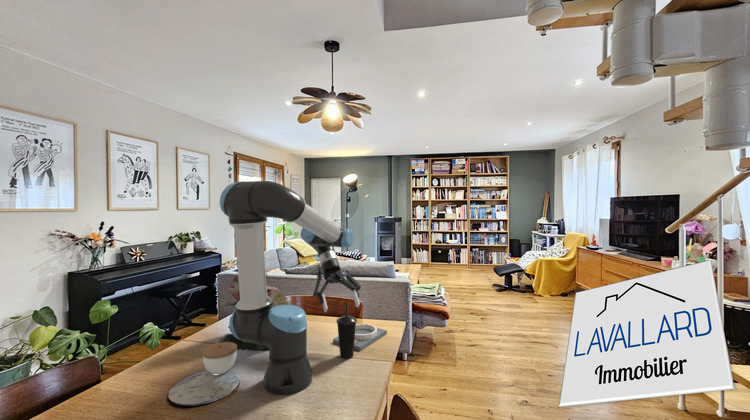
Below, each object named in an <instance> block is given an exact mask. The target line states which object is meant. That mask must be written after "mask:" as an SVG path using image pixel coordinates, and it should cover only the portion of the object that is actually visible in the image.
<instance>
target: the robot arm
mask: <svg viewBox="0 0 750 420" xmlns="http://www.w3.org/2000/svg"><path fill="white" fill-rule="evenodd" d="M219 197H220V198H219V207H220V209H221V212H222V213H223V214H224V215H225V216H227V217H228V223H229V225H230V226H231V227H232V228H233V229H234V237H235V249H236V261H237V273H238V274H237V277H239V290H240V300H239V302H238V303H237V304H236V305H235V308H234V309H233V311H232V312H231V316H230V317H229V322H228V323H229V324H228V326H230V329H229V332H230V331H231V332H230V334H232V335H233V336H234V337H235V338H237V339H239V340H241V341H244V342H248V343H254V344H258V345H263V346H267V347H269V348H268V349H269V350H268V353H269V354H268V355H269V357H268V358H269V359H268V363H267V368H266V372H265V373H264V376H263V388H264V390H265V391H267V393H270V394H274V395H291V394H294V393H298V392H300V391H303V390H305V389H306V388H308V387H309V385H310V384H311V383H312V381H313V370H312V367H311V364H310V361H309V358H308V355H307V351H308V350H307V348H308V347H307V344H308V343H307V340H308V339H307V338H308V337H307V332H308V331H307V328H308V323H307V321H308V320H307V314H306V311H305V310H304V308H301V307H300V306H297V305H293V304H291V305H278V306H275V307H273V304H272V299H271V298H270V297H269V296H268V295H267V286H268V285H267V284H268V283H267V284H266V281H267V278H266V273H267V271H266V258H265V257H266V256H265V244H264V231H263V229H264V228H263V227H264V225H265V224H266V223H267V222H268V218H273V219H274V218H275V219H280V220H283V221H285V222H287V223H295V224H296V225H298V226H300V227H301V229H300V238H301V239H302V240H303V241H304V242H305V243H306V244H307V245H309V246H311V247H312V248H313V249H314V251H316V252H317V255H318V259H319V263H320V265H321V270H322V274H321V272H319V273H317V275H316V284H315V287H314V291H313V292H312V293H313V294H312V297H316V298H317V299H318V300H319V301H318V302H319V304H320V305H322V308H323V313H327V312H328V310H329V308H328V304H327V300H326V296H325V294H324V292H325V290H326V289H327V287H328V286H329V284H331V285H332V284H340V285H343V286H344V287H346V288H347V289H349V290H350V291H351V292H352V298H353V300H354V304H355V307H356V308H359V307H360V305H361V301H360V299H359V298H360V293H359V291H360V290H361V288H362V286H361V285H360V283H359V282H358V281H357V280H356V279H355V278H354V277H353V276H352V275H351V274H350V272H349V270H347V269H346V270H345V271H343V272H342V270H341V266H340V263H339V260H338V256H337V253H336V250H335V248H342V249H343V248H350V247H352V246H353V244H354V232H353V231H352V230H351V229H348V228H342V227H340V226H338V225H337V224H335V223H334V222H333V221H331V220H330V219H329V218H327V217H326V216H324V215H322V214H321V213H320V212H318V211H317V210H316V209H315V208H314V207H311V206H310V205H309V204H307V203H306V200H305V198H304V197H303V196H301V195H300V194H298V193H297V192H296V191H294V190H292V189H291V188H288V187H286V186H285V185H283V184H280V183H278V182H275V181H271V180H257V181H256V180H254V181H251V180H250V181H244V180H243V181H236V182H233V183H229V184H228V185H227V186H225V188H224V189H223V190H222V192H221V194H220V196H219ZM322 279H324V280H325V282H324V284H323V285H322V287H321V288H320V285H321V281H322ZM319 288H320V290H319Z"/></svg>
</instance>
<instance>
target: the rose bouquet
mask: <svg viewBox="0 0 750 420" xmlns="http://www.w3.org/2000/svg"><path fill="white" fill-rule="evenodd" d="M267 276H268V273H267V272H266V279H267ZM233 282H234V283H235V284H234V285H232V284H231V285H230V286H229V287H225V288H224V289H225V290H226V289H227V290H229V291H230V293H231V295H232V297H234V299H236V300H237V301H234V302H229V303H226V304H224V305H223V307H229V306H236V304H237V303H238V302H239V300H240V290H239V277H238V276H236V277H233ZM268 282H269V281H268V280H266V284H268ZM267 295H268V296H269V297H270V298H271V299H272V304H273V307H275V306H278V305H292V301H291V300H288V299H287V298H286V297H285V294H284V293H283V292H282V291H281V290H279V289H278V288H277V287H275V286H269V285H267ZM211 316H212V315H211ZM211 316H210V317H211ZM227 328H228V329H229V332H230V333H227V332H226V334H224V336H223V337H221V338H220V339H219V340H218V342H217V343H222V342H232V343H235V344H236V345H237V351H239V350H240V351H245V350H257V351H258V350H260V351H261V350H267V349H269V347H267V346H263V345H258V344H254V343H248V342H244V341H241V340H239V339H237V338H235V337H234V336H233V335H232V333H231V331H230V326H229V325H228V326H227Z"/></svg>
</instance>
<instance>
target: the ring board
mask: <svg viewBox="0 0 750 420" xmlns="http://www.w3.org/2000/svg"><path fill="white" fill-rule="evenodd" d="M387 334H388V330H387V329H382V328H380V327H379V328H378V327H376V326H375V325H374V324H369V323H356V329H355V341H354V351H355V350H356V351H360V352H361V351H363V350H365V348H368V347H369V346H370V345H372V344H373V343H375V342H377V341H379V339H382V338H383V337H384V336H386V335H387ZM332 343H333V344H336V345H339V336H336V337H334V338H332Z"/></svg>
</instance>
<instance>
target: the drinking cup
mask: <svg viewBox="0 0 750 420" xmlns="http://www.w3.org/2000/svg"><path fill="white" fill-rule="evenodd" d="M357 320H358V319H357V318H356V317H355V316H351V315H348V302H345V315H343V316H340V317H338V318H337V319H336V325H337V332H338V333H337V334H338V336H339V344H338V347H339V354H340V355H339V356H340V358H341V359H343V360H349V359H352V358H353V357H354V351H355V349H354V341H355V329H356V324H357ZM338 336H337V337H338Z"/></svg>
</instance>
